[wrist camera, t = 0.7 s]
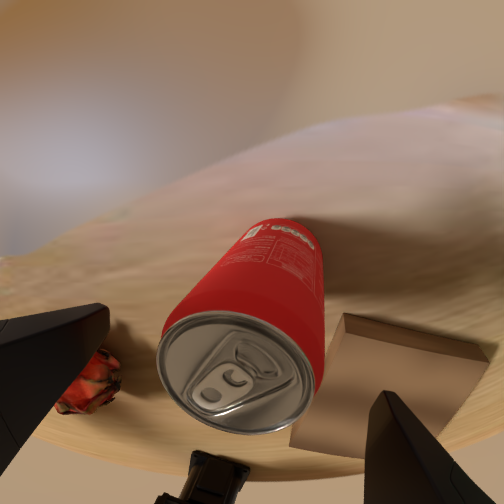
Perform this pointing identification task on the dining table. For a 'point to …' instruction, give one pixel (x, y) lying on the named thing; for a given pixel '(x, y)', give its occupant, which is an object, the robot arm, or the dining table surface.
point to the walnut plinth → (385, 383)
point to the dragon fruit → (91, 386)
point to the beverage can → (250, 334)
